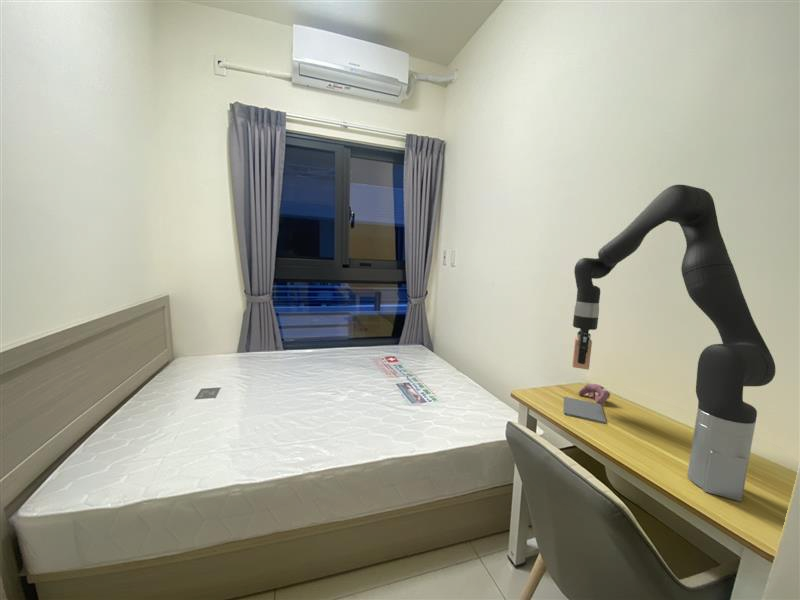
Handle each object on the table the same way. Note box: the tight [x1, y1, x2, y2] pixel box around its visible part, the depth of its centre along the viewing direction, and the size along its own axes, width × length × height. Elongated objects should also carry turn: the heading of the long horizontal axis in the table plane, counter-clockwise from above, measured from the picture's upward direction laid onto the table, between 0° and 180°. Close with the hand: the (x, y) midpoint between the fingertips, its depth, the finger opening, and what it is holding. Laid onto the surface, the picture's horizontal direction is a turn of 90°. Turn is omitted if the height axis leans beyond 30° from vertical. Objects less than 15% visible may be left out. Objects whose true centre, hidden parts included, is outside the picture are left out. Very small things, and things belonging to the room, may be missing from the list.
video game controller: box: [578, 382, 611, 405], centre depth 122 cm, size 10×5×7 cm, turn 15°
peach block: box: [571, 336, 593, 371], centre depth 115 cm, size 5×5×10 cm
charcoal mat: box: [563, 396, 607, 424], centre depth 112 cm, size 16×12×1 cm
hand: (580, 361), depth 115 cm, fingers closed on peach block, 5 cm apart
